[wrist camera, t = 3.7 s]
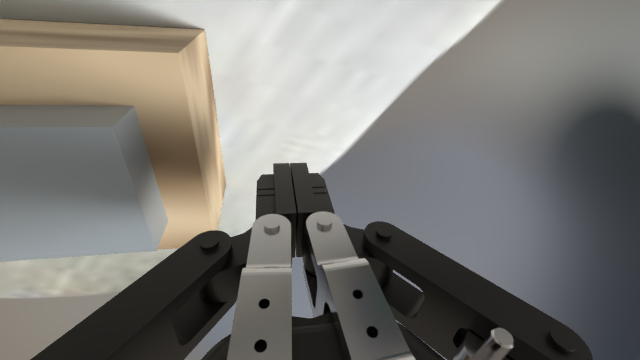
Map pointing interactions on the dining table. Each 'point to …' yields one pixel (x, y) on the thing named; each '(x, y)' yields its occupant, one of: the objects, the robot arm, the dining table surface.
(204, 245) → the robot arm
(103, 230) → the tile
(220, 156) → the cardboard box
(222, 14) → the dining table surface
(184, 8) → the dining table surface
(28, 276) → the dining table surface
